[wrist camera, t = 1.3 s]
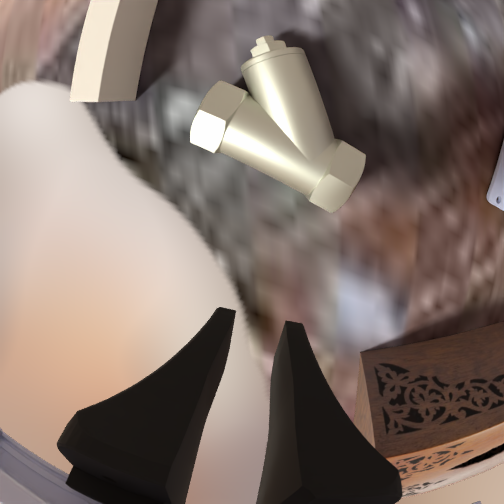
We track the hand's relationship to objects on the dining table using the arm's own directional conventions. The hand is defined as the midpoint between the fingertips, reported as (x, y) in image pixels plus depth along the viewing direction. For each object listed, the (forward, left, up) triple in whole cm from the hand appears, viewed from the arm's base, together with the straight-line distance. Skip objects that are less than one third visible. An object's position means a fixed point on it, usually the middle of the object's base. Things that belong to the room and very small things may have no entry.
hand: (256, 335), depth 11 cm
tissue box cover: (-24, +9, -9) cm, 27 cm away
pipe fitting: (+1, -8, -9) cm, 12 cm away
